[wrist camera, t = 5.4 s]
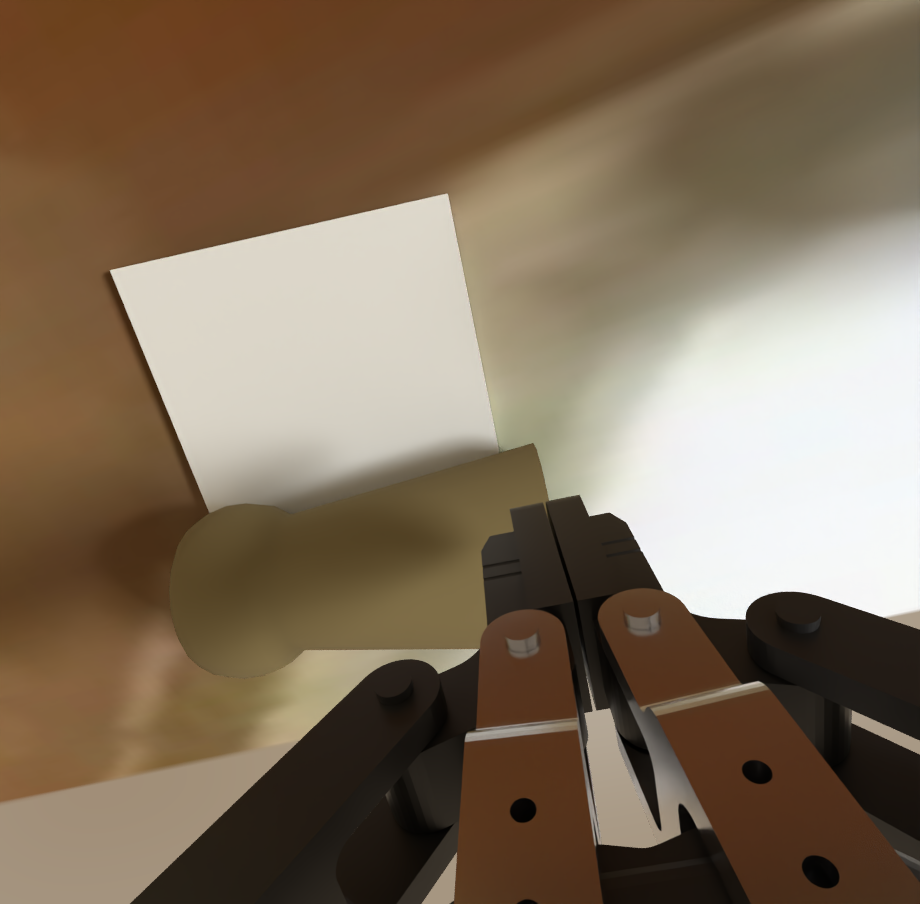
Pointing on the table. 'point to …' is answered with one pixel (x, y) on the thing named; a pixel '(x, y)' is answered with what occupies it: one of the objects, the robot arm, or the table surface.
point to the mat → (317, 357)
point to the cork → (348, 569)
